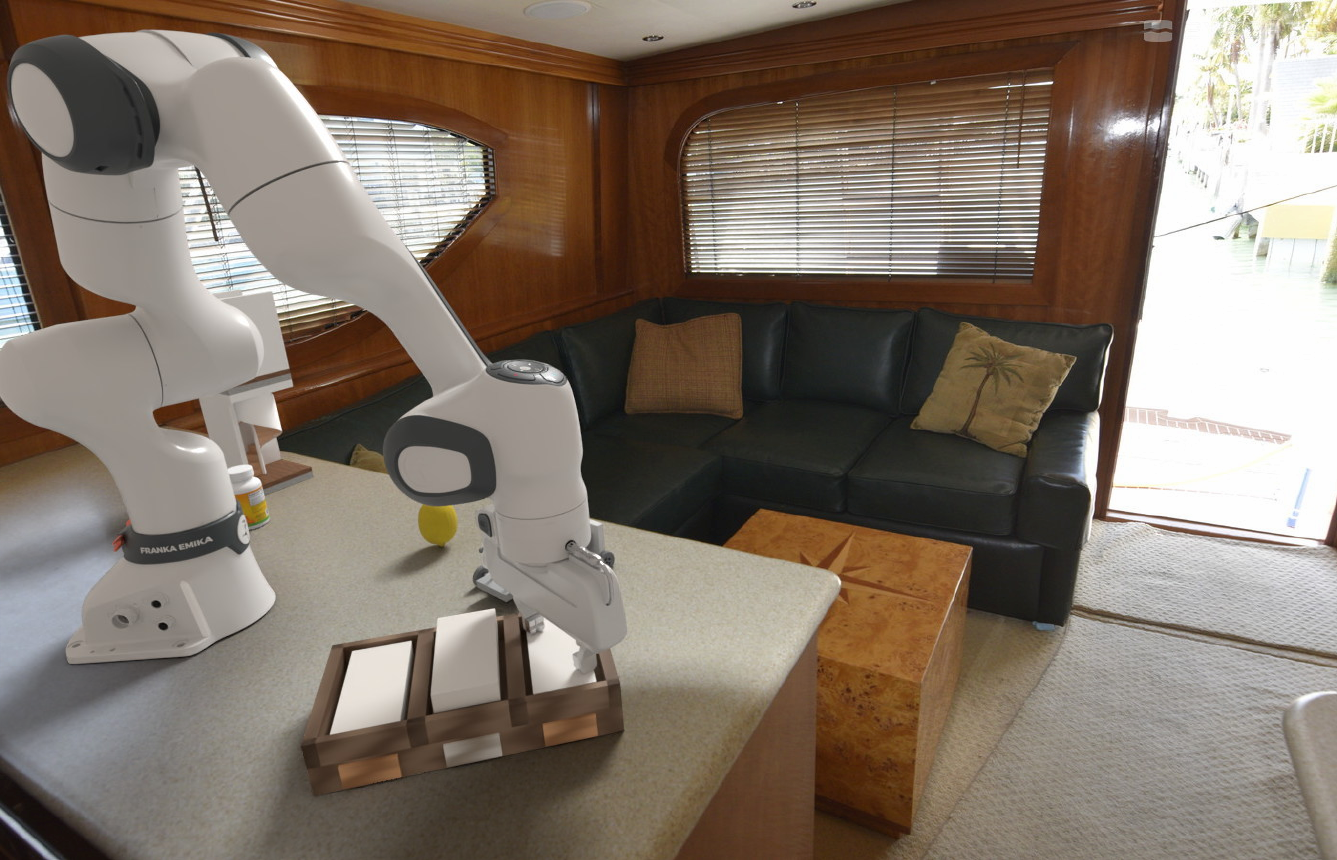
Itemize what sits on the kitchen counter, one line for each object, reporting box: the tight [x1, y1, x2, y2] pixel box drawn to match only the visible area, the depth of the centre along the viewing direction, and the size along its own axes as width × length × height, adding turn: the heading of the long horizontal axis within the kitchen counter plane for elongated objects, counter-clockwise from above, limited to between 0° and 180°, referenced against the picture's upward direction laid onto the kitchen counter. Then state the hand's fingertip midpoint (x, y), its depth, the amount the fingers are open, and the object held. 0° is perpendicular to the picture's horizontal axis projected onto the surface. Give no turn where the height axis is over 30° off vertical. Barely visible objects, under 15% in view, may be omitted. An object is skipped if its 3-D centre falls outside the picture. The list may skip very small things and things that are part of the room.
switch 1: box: [330, 641, 415, 735], centre depth 73 cm, size 6×13×2 cm, turn 14°
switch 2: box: [431, 608, 501, 713], centre depth 75 cm, size 6×13×2 cm, turn 13°
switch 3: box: [526, 618, 596, 695], centre depth 77 cm, size 6×13×2 cm, turn 13°
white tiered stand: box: [198, 288, 315, 496], centre depth 134 cm, size 11×11×35 cm
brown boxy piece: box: [299, 612, 625, 797], centre depth 76 cm, size 28×16×6 cm, turn 103°
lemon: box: [417, 504, 458, 547], centre depth 110 cm, size 6×6×8 cm
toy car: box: [472, 518, 616, 603], centre depth 99 cm, size 18×10×12 cm
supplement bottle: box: [228, 465, 271, 531], centre depth 121 cm, size 5×5×10 cm
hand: (558, 648), depth 77 cm, fingers open, 8 cm apart
